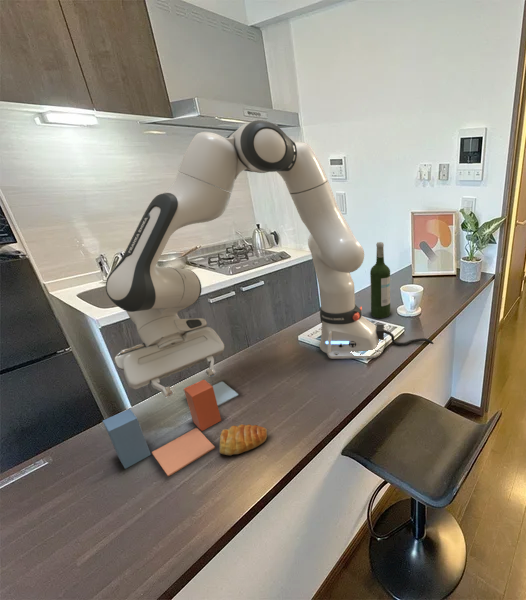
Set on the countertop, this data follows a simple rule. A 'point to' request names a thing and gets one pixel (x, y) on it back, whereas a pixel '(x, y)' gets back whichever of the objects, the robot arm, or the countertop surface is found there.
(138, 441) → the blue block
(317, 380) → the countertop surface
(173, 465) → the terracotta mat
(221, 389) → the blue mat
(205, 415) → the terracotta block
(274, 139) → the robot arm
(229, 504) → the countertop surface
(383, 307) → the wine bottle
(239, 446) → the pastry
